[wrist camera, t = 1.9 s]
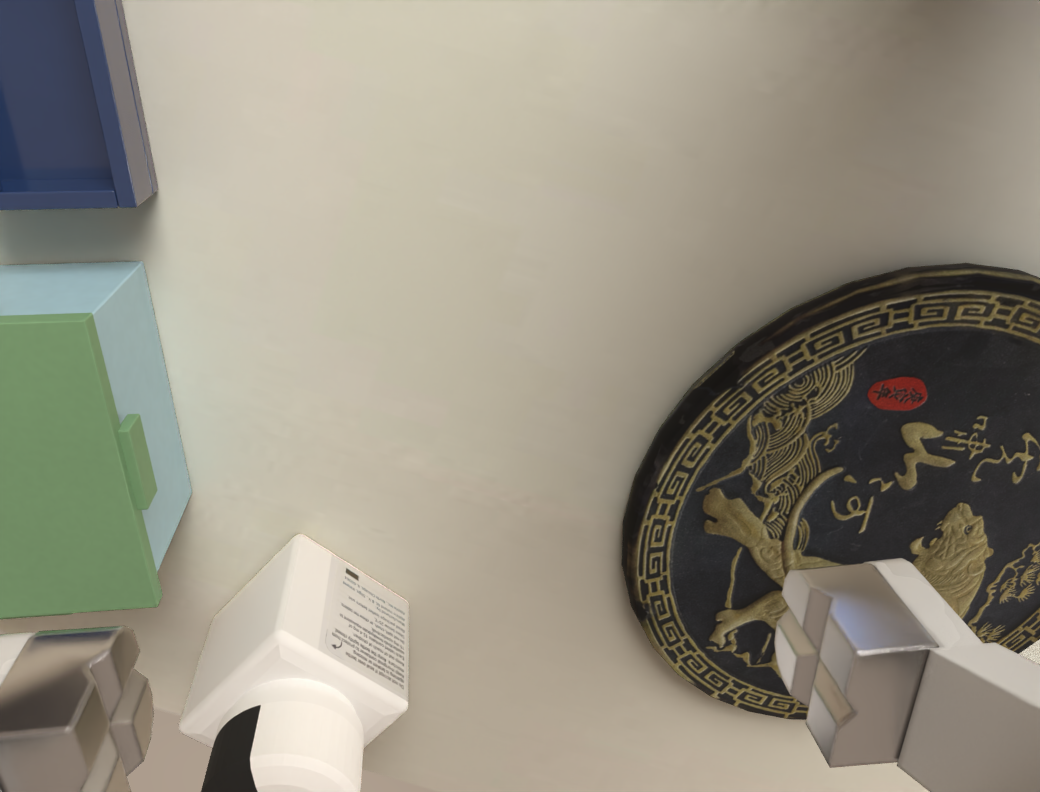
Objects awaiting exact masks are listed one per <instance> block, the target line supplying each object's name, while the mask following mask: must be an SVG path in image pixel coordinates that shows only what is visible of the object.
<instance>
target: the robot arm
mask: <svg viewBox="0 0 1040 792" xmlns="http://www.w3.org/2000/svg"><path fill="white" fill-rule="evenodd" d="M782 596H783V598H784V600H785V601H786V603H787V604H788V606H789V609H788V610H787V611H786V613H785V614H784V615H783V616H782V617H781V618H780V619H779V620H778V621H777V625H776V633H775V641H774V644H775V652H776V660H777V665H778V668H779V671H780V674H781V677H782V680H783V682H784V684H785V686H786V688H787V690H788V692H789V693H790V695H791V696H792V697H794V698H795V699H797V700H798V701H800V702H801V703H803V704H804V705H806V706H807V707H809V709H808V714H807V719H806V725H807V727H808V729H809V730H810V732H811V734H812V736H813V738H814V739H815V741H816V743H817V745H818V747H819V749H820V750H821V752H822V754H823V756H824V758H825V759H826V761H827V763H828V765H829V767H830V768H832V767H844V766H856V765H868V764H880V763H893V762H898V764H897V766H898V767H899V768H901V769H902V770H903V771H904V772H906V773H907V774H908V775H910V776H911V777H912V778H913V779H915V780H916V781H917V782H918V783H920V784H921V785H922V786H923V787H925V788H926V789H927V790H928V791H930V792H1040V664H1037V663H1035V662H1033V661H1031V660H1029V659H1027V658H1025V657H1023V656H1021V655H1019V654H1017V653H1015V652H1013V651H1011V650H1009V649H1007V648H1005V647H1003V646H1001V645H999V644H997V643H984V644H983V643H982V642H981V640H980V639H979V638H978V637H977V636H976V635H975V634H974V633H973V631H972V630H971V629H970V628H969V627H968V626H967V625H966V624H965V622H964V621H963V620H962V619H961V618H960V617H959V616H958V615H957V613H956V612H955V611H954V610H953V609H952V608H951V607H950V606H949V604H948V603H947V602H946V601H945V600H944V599H943V598H942V597H941V596H940V594H939V593H938V592H937V591H936V590H935V589H934V588H933V587H932V585H931V584H930V583H929V582H928V581H927V580H926V579H925V578H924V576H923V575H922V574H921V573H920V572H919V571H918V570H917V569H916V567H915V566H914V565H913V564H912V563H910V562H909V561H907V560H905V559H902V558H897V559H888V560H879V561H869V562H864V563H858V564H847V565H836V566H825V567H814V568H803V569H792V570H790V571H789V572H788V574H787V576H786V577H785V579H784V584H783V590H782ZM139 653H140V649H139V646H138V643H137V640H136V637H135V634H134V631H133V630H132V629H130V628H128V627H126V626H116V627H100V628H84V629H68V630H52V631H39V632H38V633H35V632H31V633H16V634H1V635H0V792H131V789H130V786H129V783H128V780H127V776H128V775H129V774H130V773H131V772H132V771H133V770H134V769H135V768H136V767H137V766H139V765H140V764H141V763H142V762H143V761H144V759H145V756H146V752H147V750H148V746H149V743H150V740H151V733H152V725H153V717H154V711H153V698H152V692H151V688H150V685H149V681H148V679H147V678H146V677H144V676H143V675H142V674H140V673H139V672H138V671H136V670H135V669H134V665H135V663H136V660H137V658H138V655H139Z"/></svg>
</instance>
